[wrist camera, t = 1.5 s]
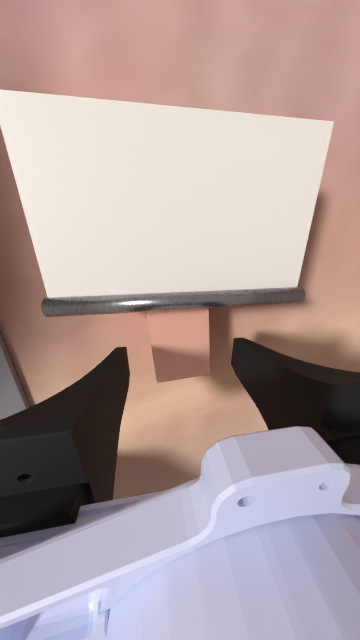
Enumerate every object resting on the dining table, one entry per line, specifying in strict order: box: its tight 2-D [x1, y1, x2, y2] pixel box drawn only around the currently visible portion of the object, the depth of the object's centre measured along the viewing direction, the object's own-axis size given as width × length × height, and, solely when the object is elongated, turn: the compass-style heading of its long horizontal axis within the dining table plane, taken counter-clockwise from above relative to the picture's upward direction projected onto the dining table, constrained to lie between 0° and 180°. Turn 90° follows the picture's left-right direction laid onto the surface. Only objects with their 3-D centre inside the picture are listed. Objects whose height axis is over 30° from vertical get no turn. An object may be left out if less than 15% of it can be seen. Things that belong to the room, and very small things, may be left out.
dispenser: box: [0, 90, 334, 317], centre depth 10 cm, size 8×13×5 cm, turn 90°
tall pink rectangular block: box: [146, 308, 210, 383], centre depth 14 cm, size 8×4×3 cm, turn 5°
